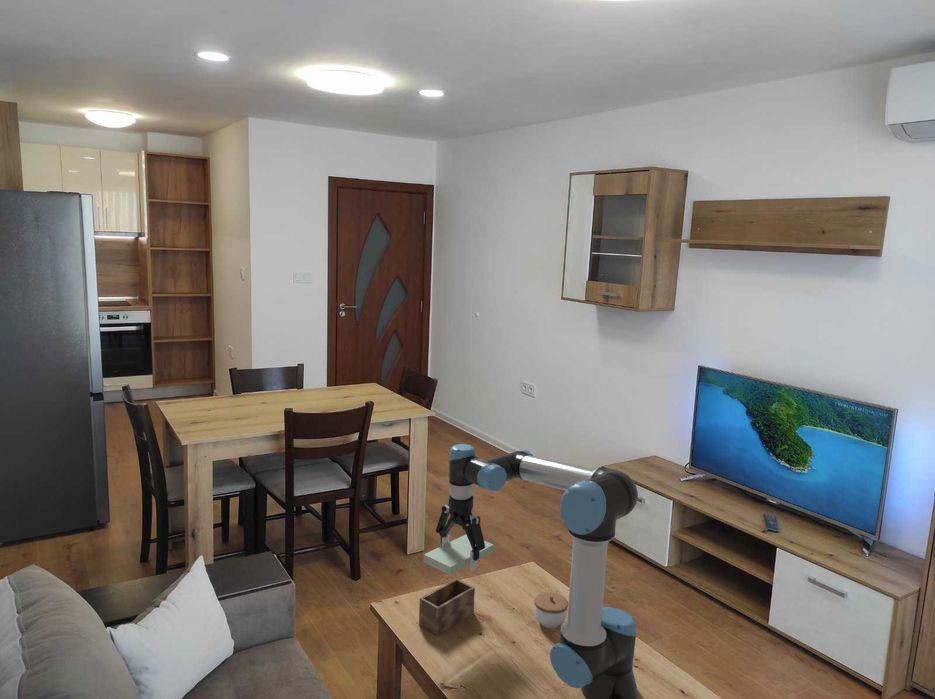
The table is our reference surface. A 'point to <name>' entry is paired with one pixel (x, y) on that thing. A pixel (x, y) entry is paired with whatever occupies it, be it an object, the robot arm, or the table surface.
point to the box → (446, 606)
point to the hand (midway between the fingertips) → (459, 562)
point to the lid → (454, 555)
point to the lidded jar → (550, 609)
